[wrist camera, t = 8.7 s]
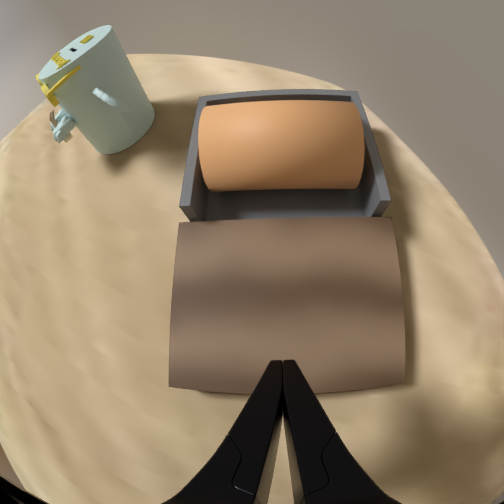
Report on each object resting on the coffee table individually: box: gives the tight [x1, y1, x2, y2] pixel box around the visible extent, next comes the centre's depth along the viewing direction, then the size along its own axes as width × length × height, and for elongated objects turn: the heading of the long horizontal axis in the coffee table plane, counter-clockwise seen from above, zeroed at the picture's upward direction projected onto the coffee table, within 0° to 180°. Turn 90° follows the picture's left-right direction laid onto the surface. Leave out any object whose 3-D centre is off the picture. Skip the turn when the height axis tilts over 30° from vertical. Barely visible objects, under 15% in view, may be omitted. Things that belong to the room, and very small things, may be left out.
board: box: [169, 217, 405, 394], centre depth 19 cm, size 12×16×2 cm
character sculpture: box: [36, 25, 155, 155], centre depth 22 cm, size 20×12×13 cm, turn 44°
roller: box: [198, 100, 365, 192], centre depth 20 cm, size 11×7×7 cm, turn 89°
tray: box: [179, 89, 391, 222], centre depth 22 cm, size 12×15×4 cm
